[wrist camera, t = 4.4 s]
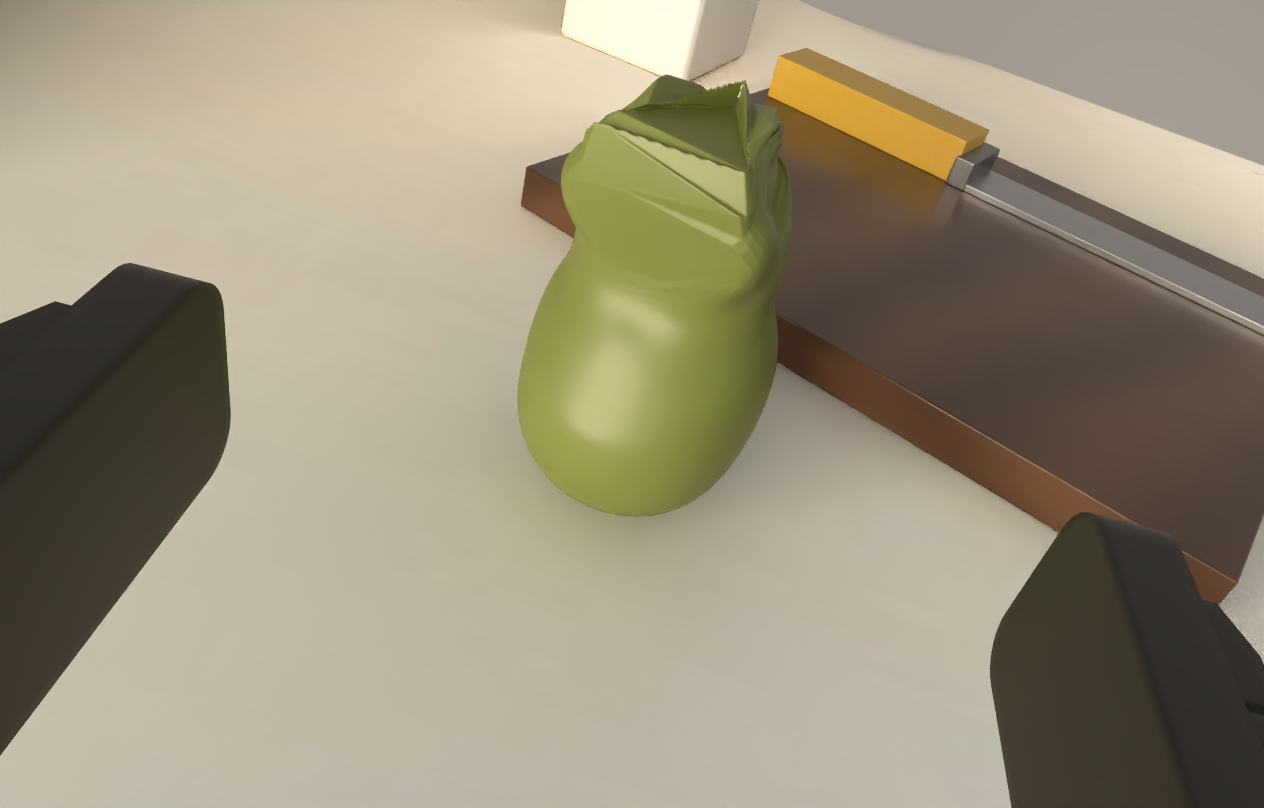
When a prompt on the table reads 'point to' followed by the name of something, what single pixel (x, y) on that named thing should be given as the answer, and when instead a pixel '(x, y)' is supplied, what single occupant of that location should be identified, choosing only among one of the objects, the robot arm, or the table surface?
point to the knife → (984, 172)
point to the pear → (660, 300)
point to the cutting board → (1014, 345)
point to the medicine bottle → (663, 32)
